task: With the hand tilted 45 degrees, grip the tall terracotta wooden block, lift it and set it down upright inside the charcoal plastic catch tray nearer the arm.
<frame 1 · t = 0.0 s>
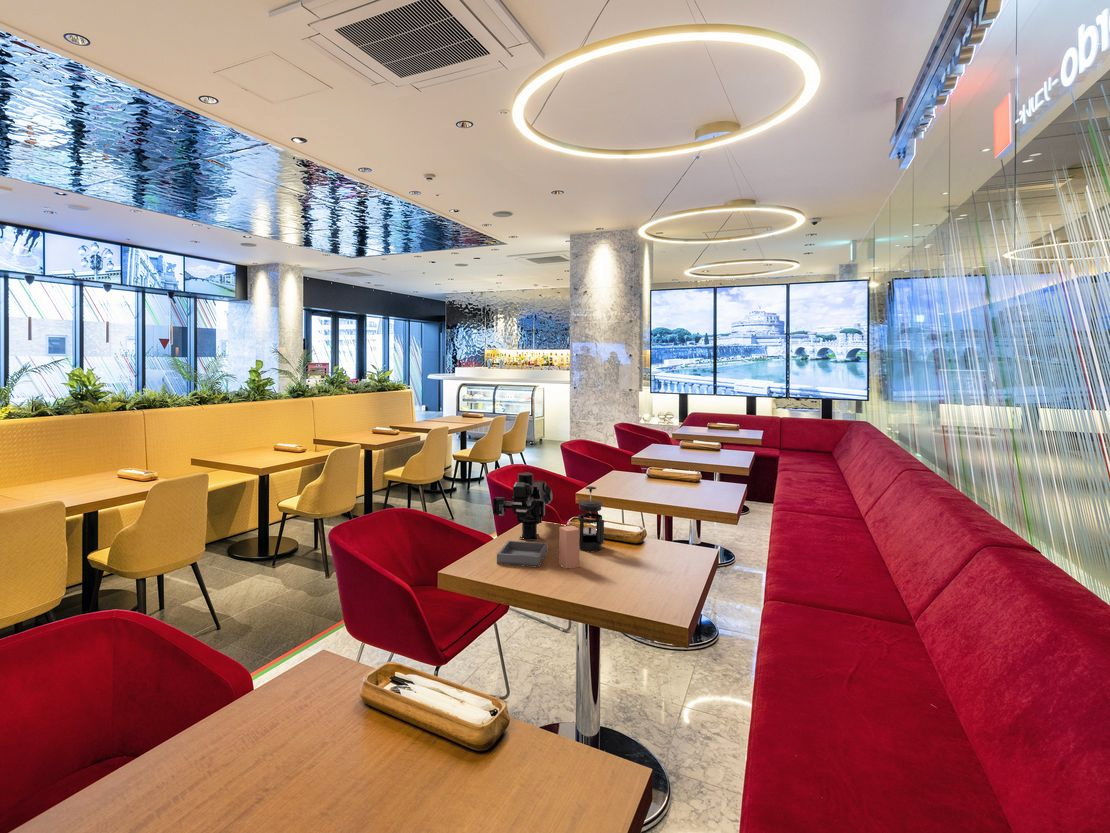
hand: (512, 513, 194), 17 cm above the table, tool horizontal, fingers open, 9 cm apart
french press: (590, 548, 209), on the table
catch tray: (522, 558, 198), on the table
terracotta block: (568, 565, 191), on the table
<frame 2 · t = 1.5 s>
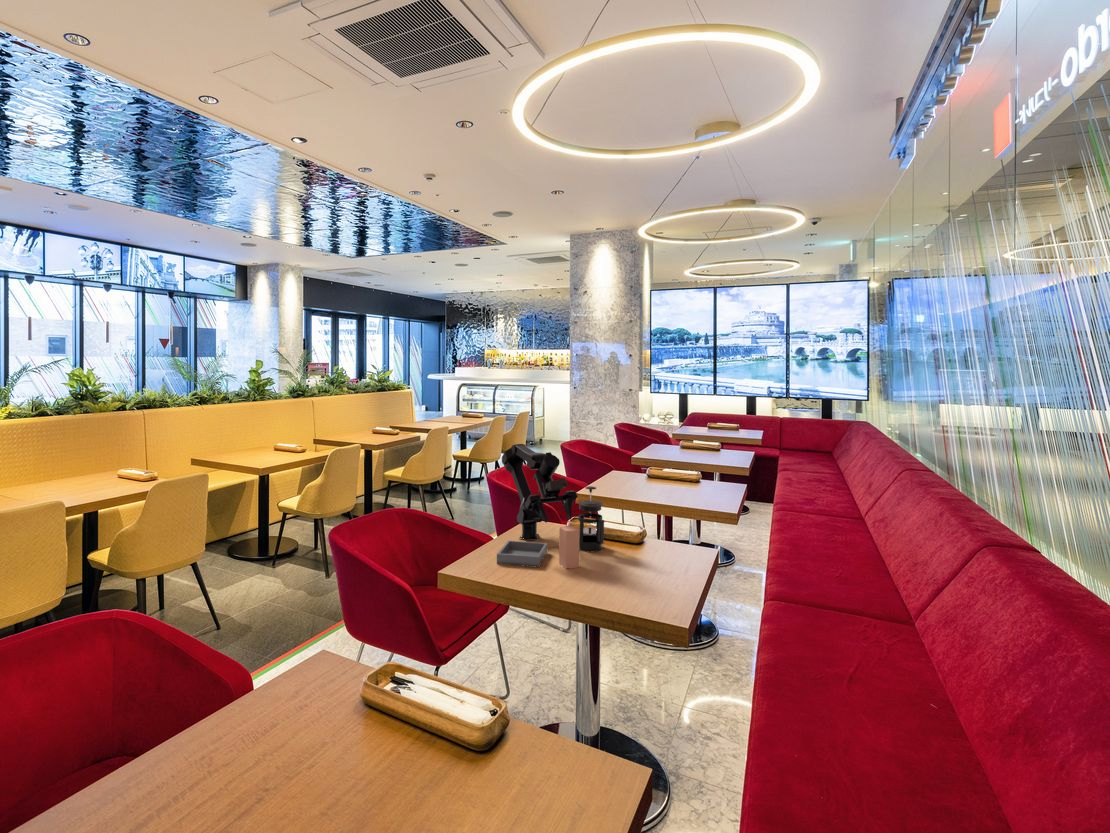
hand: (558, 520, 197), 14 cm above the table, tool tilted 45°, fingers open, 9 cm apart
nothing on the table moved.
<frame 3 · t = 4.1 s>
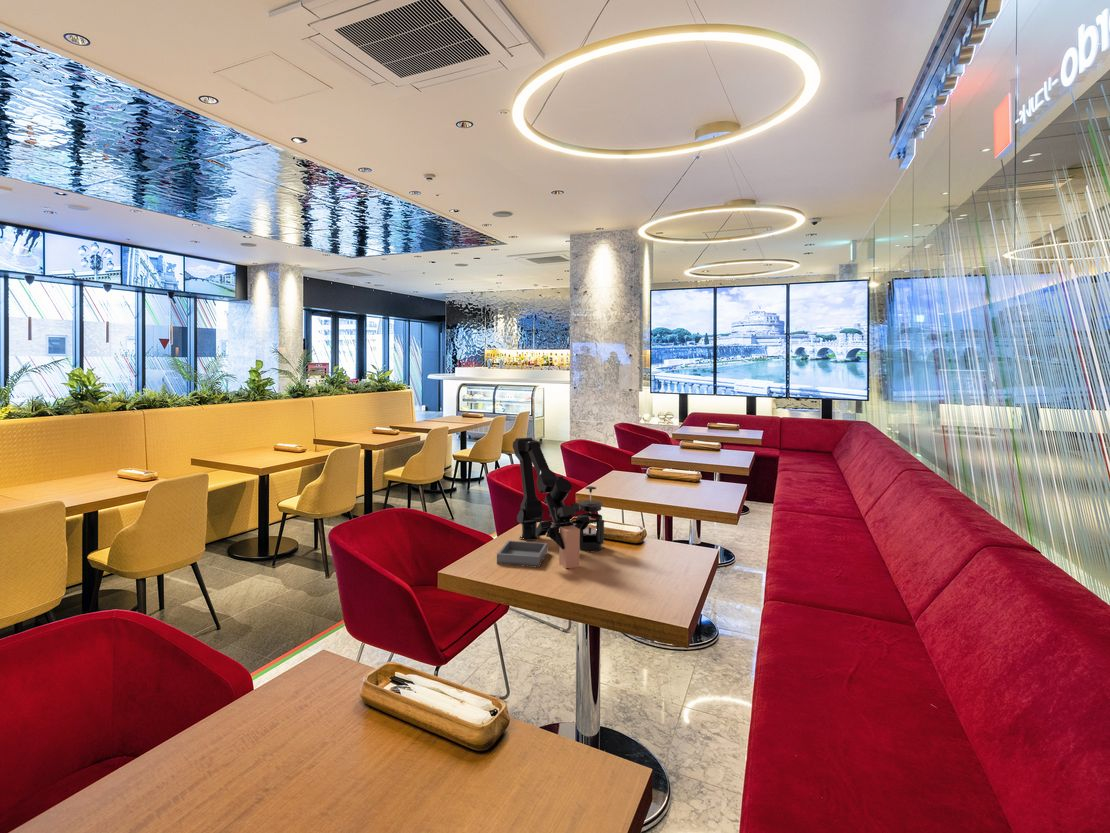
hand: (571, 547, 189), 7 cm above the table, tool tilted 45°, fingers closed on terracotta block, 5 cm apart
terracotta block: (569, 565, 191), on the table, touching gripper
everything else where it was.
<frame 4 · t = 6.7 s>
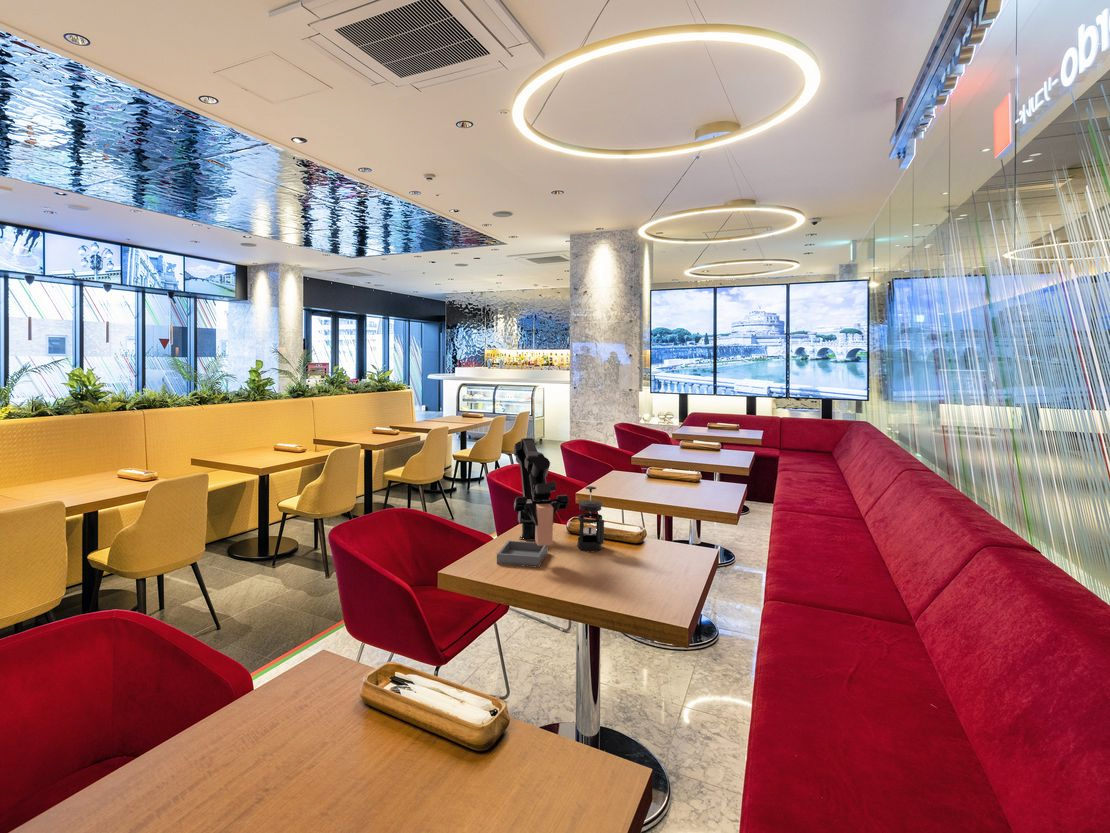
hand: (544, 525, 191), 14 cm above the table, tool tilted 45°, fingers closed on terracotta block, 5 cm apart
terracotta block: (543, 542, 193), point 7 cm above the table, touching gripper
everything else where it was.
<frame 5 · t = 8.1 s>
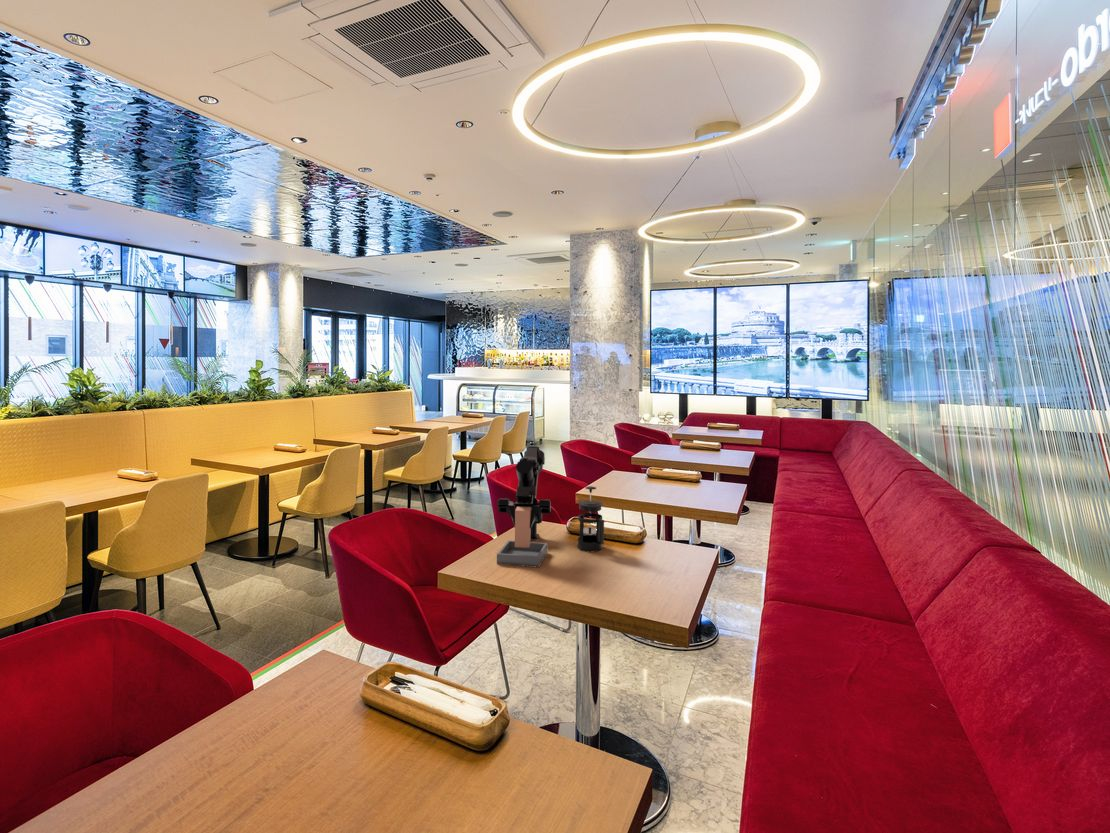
hand: (522, 527, 195), 11 cm above the table, tool tilted 45°, fingers closed on terracotta block, 5 cm apart
terracotta block: (522, 544, 197), point 5 cm above the table, touching gripper
everything else where it was.
when the fingers open (9 cm above the table, at t = 9.0 s): terracotta block drops 1 cm, resting on catch tray.
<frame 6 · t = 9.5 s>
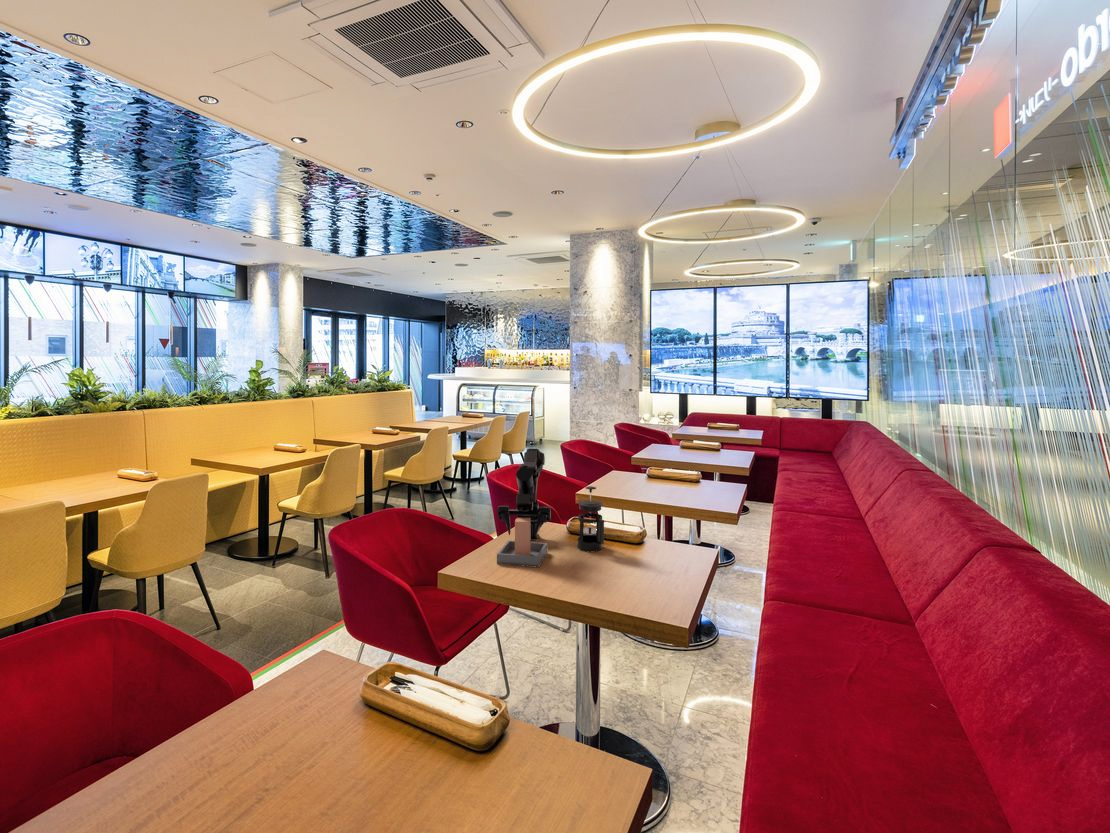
hand: (522, 534, 196), 9 cm above the table, tool tilted 45°, fingers open, 9 cm apart
terracotta block: (522, 555, 198), point 1 cm above the table, touching catch tray
everything else where it was.
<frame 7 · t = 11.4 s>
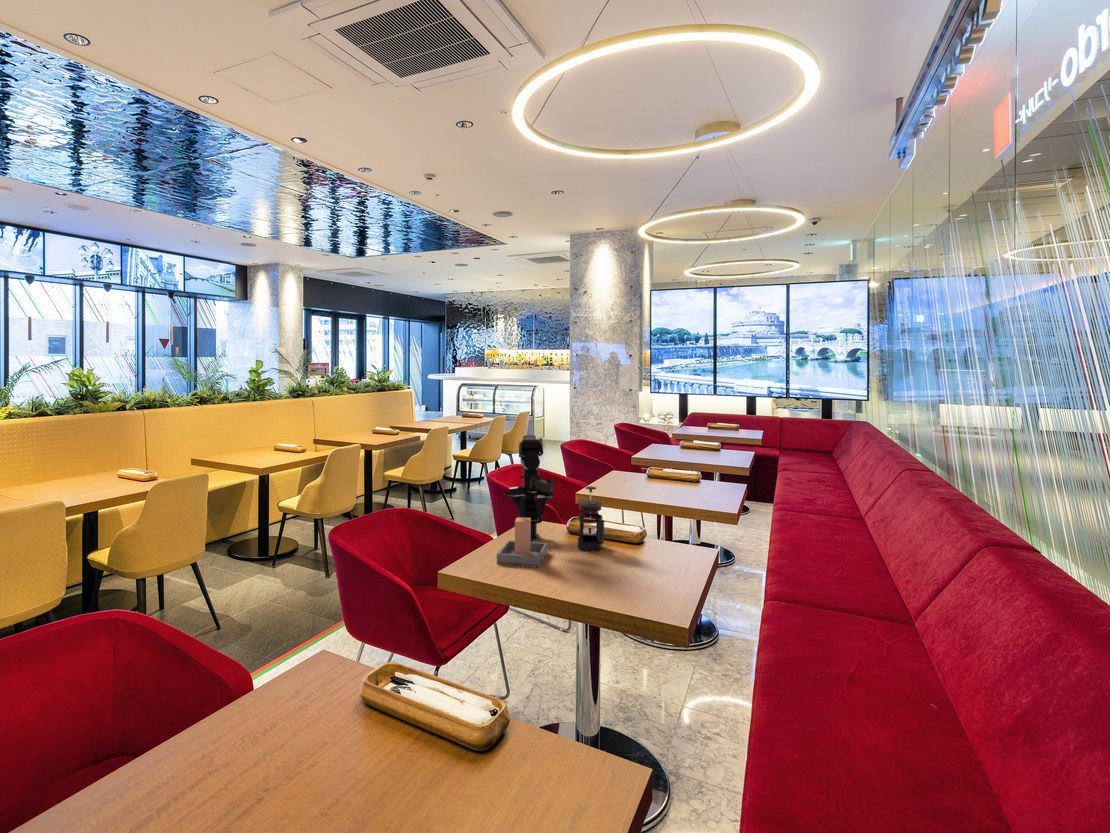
hand: (531, 516, 202), 13 cm above the table, tool tilted 20°, fingers open, 9 cm apart
nothing on the table moved.
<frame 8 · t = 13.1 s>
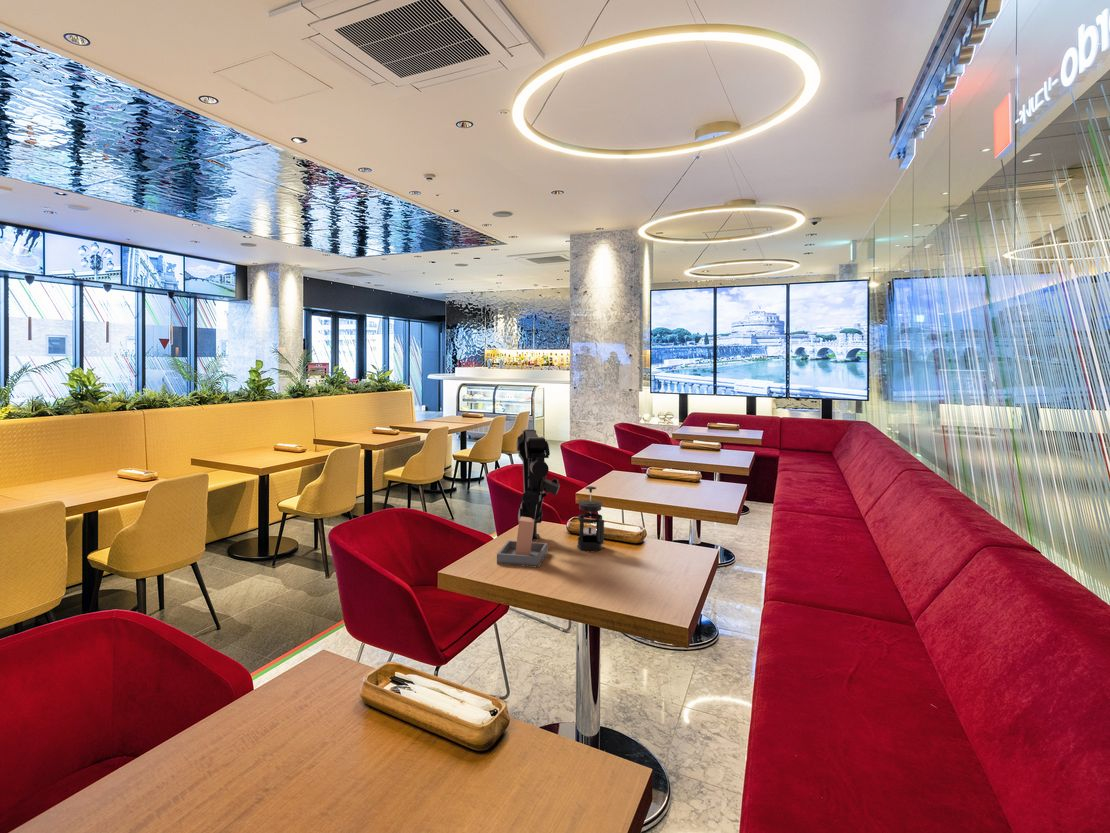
hand: (535, 515, 202), 14 cm above the table, tool pointing down, fingers open, 8 cm apart
terracotta block: (522, 555, 198), point 1 cm above the table, tilted 6°, touching catch tray, gripper
everything else where it was.
at the end: terracotta block inside the target area on the catch tray (0.0 cm from its centre), point 1.1 cm above the catch tray's base; terracotta block tilted 6°; the gripper is holding nothing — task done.
